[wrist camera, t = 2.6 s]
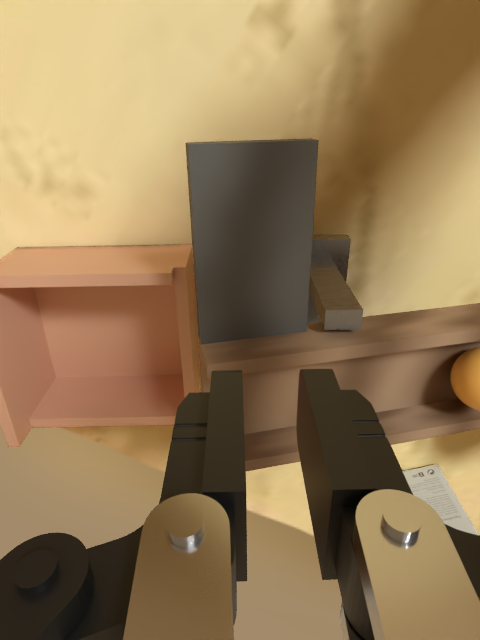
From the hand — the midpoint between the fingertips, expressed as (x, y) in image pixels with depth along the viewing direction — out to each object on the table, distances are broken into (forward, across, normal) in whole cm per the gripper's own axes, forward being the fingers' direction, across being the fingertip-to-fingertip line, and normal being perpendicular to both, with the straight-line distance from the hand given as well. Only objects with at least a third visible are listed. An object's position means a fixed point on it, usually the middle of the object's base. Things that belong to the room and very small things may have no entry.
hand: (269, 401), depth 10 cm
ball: (+14, -14, +9) cm, 22 cm away
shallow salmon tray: (+23, +10, +9) cm, 27 cm away
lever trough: (+15, -7, +4) cm, 17 cm away
